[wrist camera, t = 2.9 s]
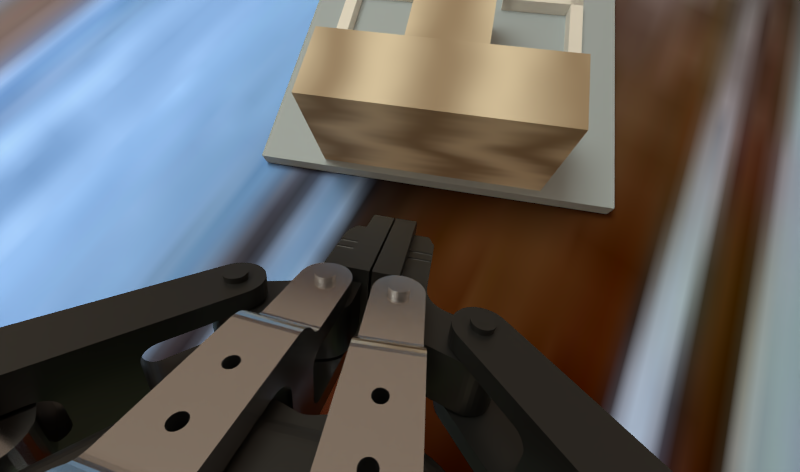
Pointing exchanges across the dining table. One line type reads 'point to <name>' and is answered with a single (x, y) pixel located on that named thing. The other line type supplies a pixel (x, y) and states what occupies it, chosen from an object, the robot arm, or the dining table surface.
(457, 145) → the t block
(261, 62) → the dining table surface
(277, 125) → the board
